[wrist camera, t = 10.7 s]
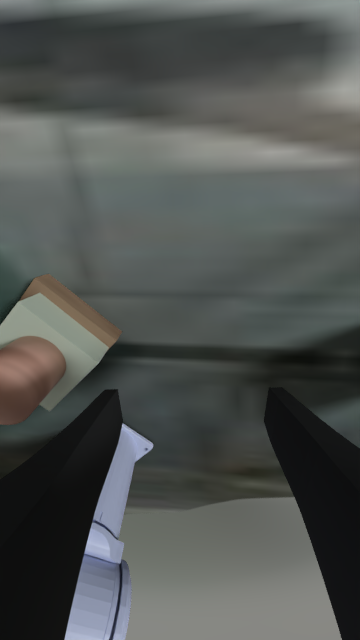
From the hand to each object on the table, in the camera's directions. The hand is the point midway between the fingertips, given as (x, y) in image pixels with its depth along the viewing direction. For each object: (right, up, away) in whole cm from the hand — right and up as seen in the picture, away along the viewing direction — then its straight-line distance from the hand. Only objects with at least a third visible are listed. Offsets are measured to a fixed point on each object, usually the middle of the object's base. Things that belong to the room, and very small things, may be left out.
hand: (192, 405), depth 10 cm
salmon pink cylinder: (-12, +1, +6) cm, 13 cm away
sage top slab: (-12, +2, +9) cm, 15 cm away
